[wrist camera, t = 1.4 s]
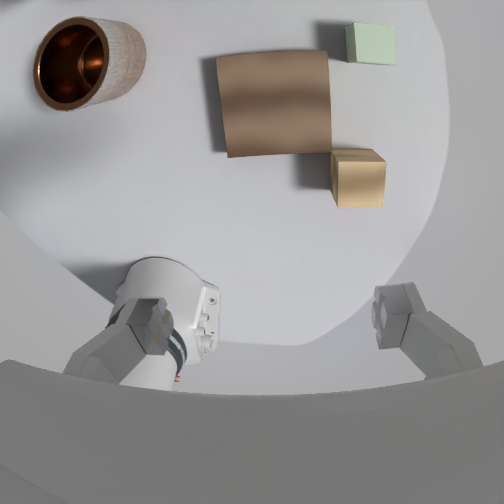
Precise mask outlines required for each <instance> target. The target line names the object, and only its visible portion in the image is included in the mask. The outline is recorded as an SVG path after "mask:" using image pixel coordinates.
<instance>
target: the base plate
mask: <svg viewBox="0 0 504 504" xmlns="http://www.w3.org/2000/svg"><path fill="white" fill-rule="evenodd" d="M216 67H217V75H218V83H219V92H220V100H221V108H222V116H223V124H224V132H225V140H226V148H227V155H228V158H233V157H246V156H260V155H276V154H298V153H332V137H331V104H330V83H329V67H328V54H327V51H278V52H262V53H250V54H240V55H231V56H223V57H216Z"/></svg>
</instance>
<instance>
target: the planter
mask: <svg viewBox="0 0 504 504" xmlns="http://www.w3.org/2000/svg"><path fill="white" fill-rule="evenodd" d="M145 62H146V48H145V44H144V41H143V38H142V37H141V35H140V34H139V32H138V31H137V30H136V29H134V28H133V27H132V26H130V25H128V24H126V23H123V22H118V21H112V20H105V19H98V18H91V17H83V16H78V17H72V18H68V19H66V20H64V21H62V22H60V23H58V24H57V25H56V26H54V27H53V28H52V29H51V30H50V31H49V32H48V33H47V35H46V36H45V37H44V39H43V40H42V42H41V44H40V45H39V48H38V50H37V53H36V56H35V59H34V65H33V80H34V85H35V88H36V91H37V93H38V95H39V97H40V98H41V100H42V101H43V102H44V103H45V104H46V105H47V106H48V107H50V108H52V109H54V110H57V111H62V112H68V111H74V110H77V109H80V108H83V107H87V106H90V105H94V104H97V103H101V102H105V101H109V100H113V99H116V98H118V97H120V96H122V95H123V94H125V93H127V92H128V91H129V90H130V89H131V88H132V87H133V86H134V85H135V84H136V83H137V81H138V80H139V78H140V76H141V74H142V72H143V69H144V66H145Z"/></svg>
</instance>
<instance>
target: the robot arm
mask: <svg viewBox="0 0 504 504" xmlns="http://www.w3.org/2000/svg"><path fill="white" fill-rule="evenodd" d="M116 295H117V297H118V298H117V300H116V303H115V305H114V308H113V310H112V313H111V315H110V318H109V323H108V325H107V326H106V327H105V329H104V330H103V331H102V332H101V333H99V334H98V335H97V336H95V337H94V338H93V339H91V340H90V341H89V342H87V343H86V344H84V345H83V346H82V347H80V348H79V349H78V350H76V351H75V352H74V353H73V354H72V356H71V358H70V360H69V362H68V364H67V365H66V368H65V369H64V371H63V373H58V372H53V371H49V370H45V369H41V368H37V367H34V366H30V365H26V364H23V363H20V362H17V361H14V360H5V361H3V362H1V363H0V504H504V361H501V362H498V363H494V364H491V365H487V366H483V365H482V362H481V359H480V357H479V355H478V352H477V350H476V348H475V345H474V343H473V342H472V341H471V340H469V339H468V338H467V337H465V336H464V335H463V334H461V333H460V332H459V331H457V330H456V329H454V328H453V327H452V326H450V325H449V324H448V323H446V322H445V321H443V320H442V319H441V318H439V317H438V316H436V315H435V314H433V313H432V312H431V311H428V312H427V310H426V308H425V306H424V304H423V301H422V299H421V297H420V295H419V293H418V290H417V288H416V286H415V284H414V283H413V282H410V283H402V284H394V285H384V286H376V287H375V291H374V296H375V301H374V302H373V304H372V322H373V326H374V328H376V329H377V333H376V339H377V343H378V347H379V349H388V348H398V347H400V349H401V350H402V351H403V352H404V353H405V354H406V355H407V356H408V357H409V358H410V359H411V360H412V362H413V363H414V364H415V365H416V366H417V367H418V368H419V369H420V370H421V371H422V372H423V373H424V374H425V375H426V378H425V379H424V380H422V381H417V382H411V383H405V384H400V385H393V386H386V387H378V388H371V389H363V390H353V391H343V392H331V393H317V394H299V395H221V394H202V393H187V392H176V391H172V388H173V384H174V382H179V381H177V380H175V379H177V378H180V376H177V375H178V373H179V372H180V370H181V369H182V368H183V367H185V366H192V365H195V364H197V363H199V362H200V361H201V360H202V357H203V353H206V352H210V351H213V350H215V349H217V346H218V340H219V313H220V290H219V289H218V288H217V287H215V286H213V285H211V284H209V283H206V282H204V281H203V280H201V279H200V278H199V277H198V276H197V275H196V274H195V273H193V272H192V271H191V270H190V269H188V268H187V267H185V266H183V265H182V264H180V263H177V262H175V261H172V260H169V259H164V258H147V259H143V260H141V261H139V262H137V263H135V264H134V265H133V266H132V267H131V268H130V270H129V271H128V273H127V277H126V280H125V282H124V283H123V284H121V285H120V286H119V287H118V289H117V292H116ZM211 298H212V299H211Z"/></svg>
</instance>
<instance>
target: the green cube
mask: <svg viewBox="0 0 504 504" xmlns="http://www.w3.org/2000/svg"><path fill="white" fill-rule="evenodd" d="M345 36H346V49H347V63H364V64H376V65H397V63H396V45H395V32H394V27H389V26H382V25H373V24H364V23H352V24H351V25H349V26H347V27H345Z"/></svg>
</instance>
